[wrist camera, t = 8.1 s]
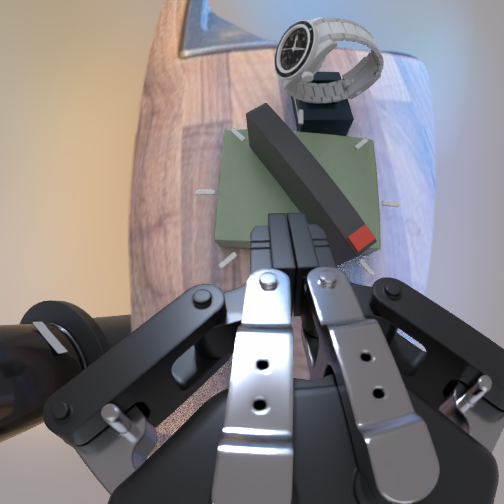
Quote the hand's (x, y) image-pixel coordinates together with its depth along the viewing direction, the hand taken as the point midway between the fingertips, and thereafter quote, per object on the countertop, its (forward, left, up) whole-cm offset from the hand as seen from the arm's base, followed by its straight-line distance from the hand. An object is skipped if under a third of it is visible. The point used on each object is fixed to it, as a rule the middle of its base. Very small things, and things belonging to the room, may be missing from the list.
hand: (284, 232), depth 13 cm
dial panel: (+2, +5, -11) cm, 12 cm away
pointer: (+2, +4, -8) cm, 9 cm away
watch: (+3, +14, -11) cm, 18 cm away
